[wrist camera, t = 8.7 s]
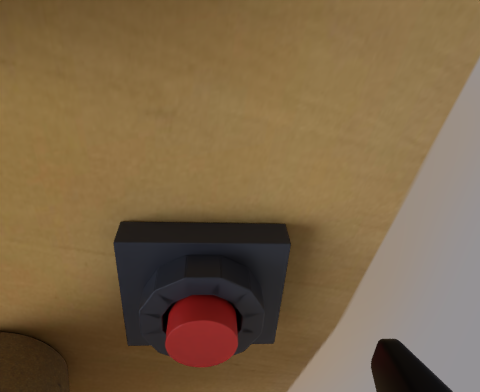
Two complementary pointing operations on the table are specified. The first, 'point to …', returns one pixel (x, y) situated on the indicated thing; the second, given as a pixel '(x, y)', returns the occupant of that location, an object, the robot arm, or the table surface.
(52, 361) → the plant pot
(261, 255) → the button box
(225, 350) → the red button
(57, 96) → the table surface
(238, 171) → the table surface
